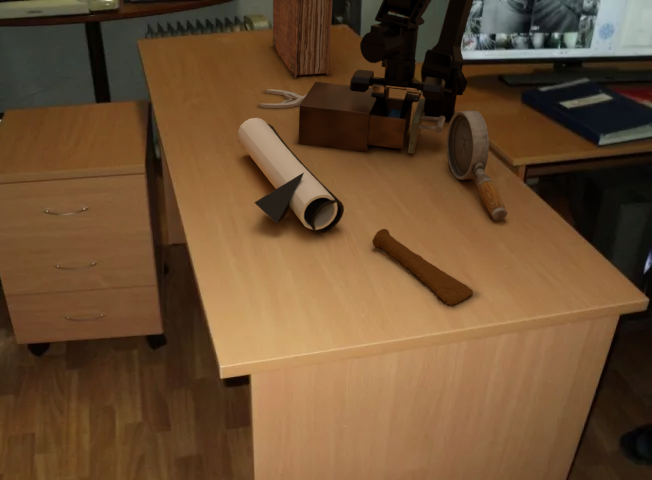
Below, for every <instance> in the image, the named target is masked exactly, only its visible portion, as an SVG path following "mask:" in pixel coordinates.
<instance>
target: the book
mask: <svg viewBox="0 0 652 480" xmlns="http://www.w3.org/2000/svg"><path fill="white" fill-rule="evenodd" d="M332 17H333V0H272V47H273V49H274V50H275V52H276V53H277V55H278V56H279V58H280V59H281V60H282V62H283V64H284V65H285V67H286V68H287V70H288V71H289V73H290V74H291V76H292V77H293V79H296V78H297V76H307V75H309V76H310V75H321V74H325V75H326V76H329V75H330V59H331V57H330V55H331V38H332V19H333V18H332Z"/></svg>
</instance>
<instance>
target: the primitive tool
mask: <svg viewBox="0 0 652 480" xmlns="http://www.w3.org/2000/svg"><path fill="white" fill-rule="evenodd" d="M371 242H372V246H374V247H375V248H377V249H383V250H384V251H385V252H387V253H388V254H390V255H391V257H393V258H394V259H395V260H397V261H398V262H399V263H401V264H402V266H403V268H406V269H407V270H408V271H410V272H411V273H412V274H414V275H415V276H416V277H417V278H418V279H419V280H420V281H421V282H423V284H425V285H426V286H427V287H428V288H429V289H430V290H431V291H432V292H433V293H434V294H435V295H436V296H437V297H438V298H440V299H441V301H442V303H446V305H448V306H449V305H450V306H454V305H456V304H459V302H463V301H464V300H466V299H467V298H469V297H471V296H472V295H473V294H474V291H473V290H472V288H470V287H469V286H468V285H467V284H465V283H463V282H462V281H459V279H456V278H455V277H454V276H451V275H450V274H449V273H446V272H445V271H443V270H442V269H440V268H439V267H438V266H436V265H434V264H433V263H431V262H429V260H428V261H427V260H426V259H425V258H423V257H422V256H421V255H420V254H417V253H416V252H413V251H412V250H411V249H410V248H408V247H407V246H405V245H404V244H402V243H401V242H400V241H399V240H398V239H396V238H394V236H392V235H391V234H390V231H389V230H388V229H387V228H381V229H379V230H378V231H377V232H376V233H375V235H374V236H373V239H372V240H371Z"/></svg>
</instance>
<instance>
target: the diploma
mask: <svg viewBox="0 0 652 480" xmlns="http://www.w3.org/2000/svg"><path fill="white" fill-rule="evenodd" d="M237 139H238V143H239V144H240V145H241V146H242V148H243V149H244V150H245V152H246V153H247V154H248V156H250V158H251V160H253V162H254V163H255V165H256V166H257V167H258V168H259V169H260V171H261V172H262V173H263V175H264V176H265V177H266V179H267V180H268V181H269V182H270V183H271V185H272V186H273V187H274V190H272V191H271V192H269V193H267V194H265V195H264V196H263V197H261V198H259V199H257V200H256V201H255V202H254V204H255V205H256V206H257V207H258V208H259V209H260V210H261V211H263V212H264V214H266V215H267V216H268V217H269V218H270V219H271V220H272V221H273V222H274V223H275V224H279V223H281V222H282V221H284V220H285V219H286V217H287V215H288V212H289V210H290V209H291V210H292V212H293V213H294V214H295V216H296V217H297V218H298V220H300V222H301V223H302V225H303V226H304V227H305V228H307V229H309V230H313V232H315V233H317V234H324V233H326V232H330V231H331V230H332V229H333V228H335V227H336V225H338V224H339V223H340V221H341V219H342V218H343V215H344V212H345V206H344V204H343V202H342V201H341V200H340V199H339V198H338V197H337V196H335V194H333V192H332V191H330V190H329V188H328V187H326V186H325V184H324V183H322V182H321V181H320V179H319V178H317V177H316V175H315V174H314V173H312V172H311V171H310V169H309V168H308V167H307V166H306V165H305V164H304V163H303V162H302V160H300V158H299V157H297V155H296V154H295V153H294V152H293V151H292V150H291V148H290V147H289V146H288V145H287V144H286V142H285V141H284V140H283V139H282V137H281V136H280V134H279V133H278V132H277V130H276V129H275V127H274V126H273V125H271V124H270V123H267V122H266V121H265V120H264V119H262V118H259V117H251V118H248V119H246V120H245V121H243V122H242V123H241V125H240V126H239V128H238V131H237Z"/></svg>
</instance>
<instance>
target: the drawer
mask: <svg viewBox="0 0 652 480" xmlns="http://www.w3.org/2000/svg"><path fill="white" fill-rule="evenodd" d="M403 102H404V98H402V97H401V98H400V97H391V96H389V114H390V112H391V109H396V110H402V106H403ZM413 104H414V102H413V103H412V105H411V106H410V108H409V109H408V111H407V113H406V115H405V117H404V119H401V118H393V117H385V116H383V114H382V111H381V108H380V106H379V104H378V101H376V103H375V106H374V108H373V110H372V112H371V114H370V121H369V132H368V145H369V146H377V147H384V148H391V149H399V150H403V148H404V145H405V142H406V139H407V137H408V133H409V130H410V134H409V140H408V141H409V143H408V151H407V153H409V154H415V151H416V147H417V144H418V141H419V138H420V135H421V131H422V130H430V131H435V132H436V133H437V134H441V133H443V130H444V126H445V122H446V121H445V117H444V116H440V117H439V119H438V117H431V116H424V113H423V112H424V105H425V98H420V99H419V101H418V102H417V105H416V108H415V112H414V114H413V117H412V111H413ZM411 119H412V120H411ZM423 120H426V121H436V126H433V125H425V124H424V125H423Z"/></svg>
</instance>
